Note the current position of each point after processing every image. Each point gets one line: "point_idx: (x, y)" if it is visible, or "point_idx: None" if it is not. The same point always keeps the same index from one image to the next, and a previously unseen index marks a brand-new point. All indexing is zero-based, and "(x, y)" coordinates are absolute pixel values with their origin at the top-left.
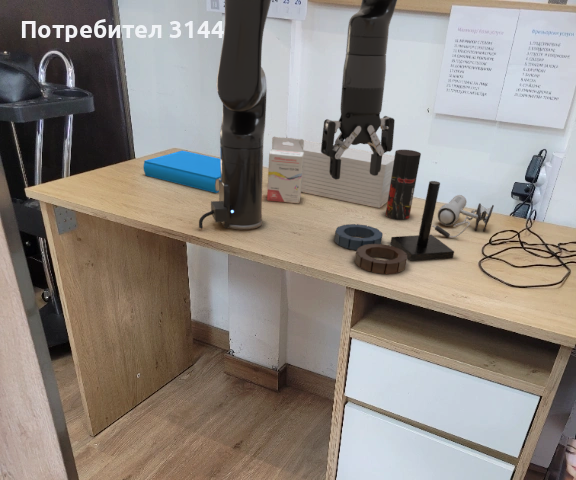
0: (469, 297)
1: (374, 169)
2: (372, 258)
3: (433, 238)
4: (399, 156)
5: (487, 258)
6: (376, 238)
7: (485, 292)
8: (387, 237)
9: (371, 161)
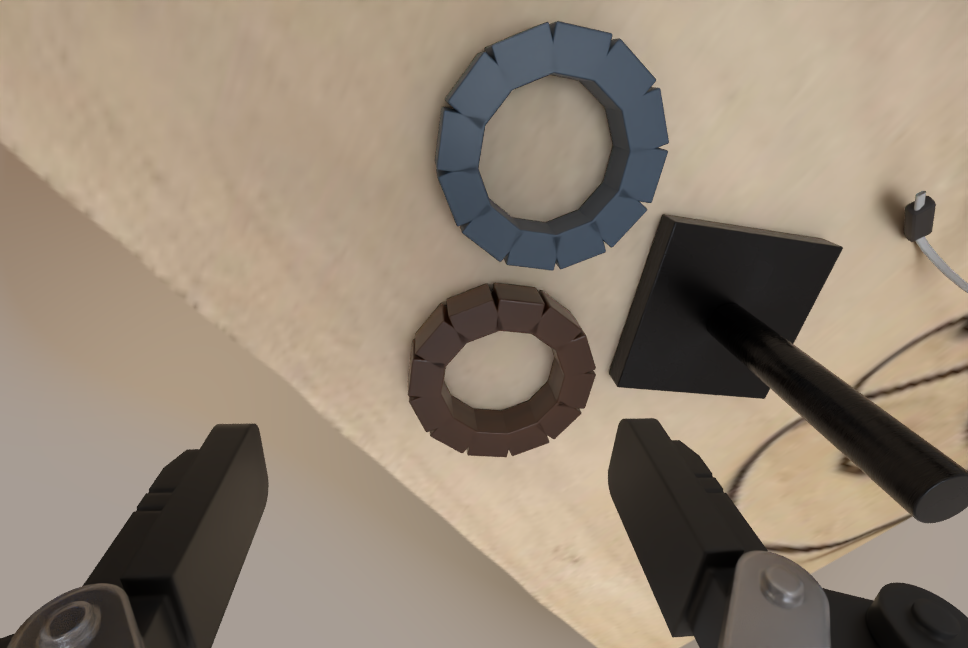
0: (584, 562)
1: (626, 507)
2: (443, 413)
3: (810, 285)
4: None
5: None
6: (580, 255)
7: None
8: (703, 146)
9: (664, 499)
